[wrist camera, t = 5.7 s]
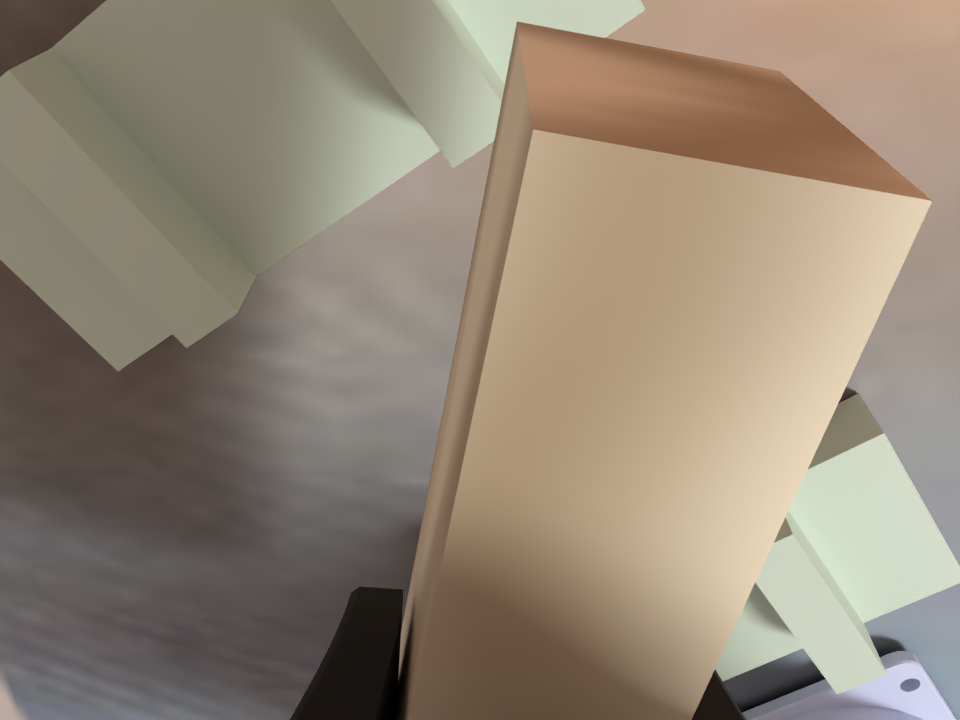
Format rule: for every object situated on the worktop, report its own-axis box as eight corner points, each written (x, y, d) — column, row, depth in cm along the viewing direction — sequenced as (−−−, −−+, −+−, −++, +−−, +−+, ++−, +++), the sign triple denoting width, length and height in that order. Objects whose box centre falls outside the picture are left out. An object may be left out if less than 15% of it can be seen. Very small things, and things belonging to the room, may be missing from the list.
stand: (938, 535, 22) (999, 630, 19) (526, 714, 25) (530, 815, 23) (466, -298, 13) (461, -328, 11) (-49, 146, 17) (-144, 203, 14)
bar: (779, 71, 10) (930, 201, 7) (507, 864, 18) (511, 1106, 15) (516, 20, 10) (533, 129, 6) (360, 848, 18) (329, 1091, 14)
